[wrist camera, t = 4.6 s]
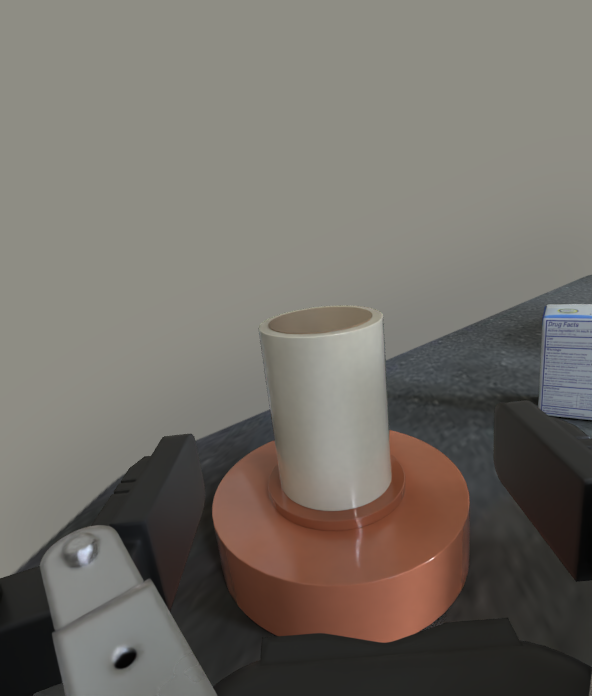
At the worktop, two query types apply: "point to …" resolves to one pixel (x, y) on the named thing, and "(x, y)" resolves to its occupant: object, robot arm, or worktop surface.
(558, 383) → the medicine box
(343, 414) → the cream cup
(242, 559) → the terracotta pedestal disc
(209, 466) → the worktop surface
